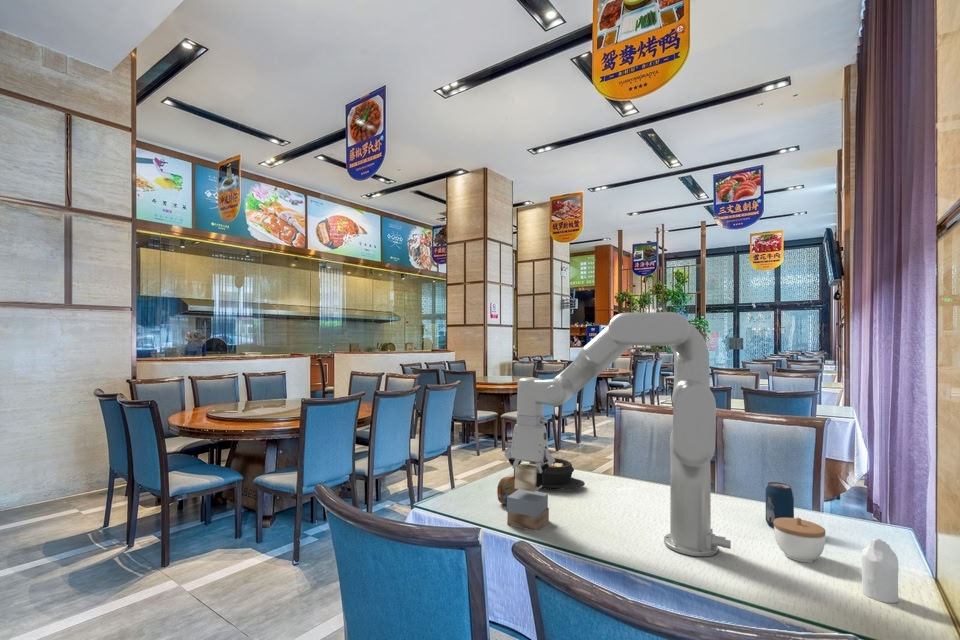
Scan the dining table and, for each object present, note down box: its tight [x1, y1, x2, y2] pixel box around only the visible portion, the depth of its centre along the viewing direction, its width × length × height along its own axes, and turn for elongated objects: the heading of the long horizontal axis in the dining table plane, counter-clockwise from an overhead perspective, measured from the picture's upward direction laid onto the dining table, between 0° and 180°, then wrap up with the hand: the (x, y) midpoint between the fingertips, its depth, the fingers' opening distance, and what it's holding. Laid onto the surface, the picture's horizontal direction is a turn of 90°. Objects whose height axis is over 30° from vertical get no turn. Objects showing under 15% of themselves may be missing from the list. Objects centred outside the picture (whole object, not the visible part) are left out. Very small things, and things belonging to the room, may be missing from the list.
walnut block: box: [506, 507, 550, 532], centre depth 138 cm, size 9×9×4 cm
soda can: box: [765, 481, 795, 530], centre depth 139 cm, size 7×7×12 cm
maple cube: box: [515, 462, 542, 492], centre depth 138 cm, size 6×6×6 cm
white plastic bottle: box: [861, 538, 899, 604], centre depth 100 cm, size 6×12×6 cm
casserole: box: [528, 457, 585, 490], centre depth 176 cm, size 25×19×8 cm
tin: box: [496, 473, 518, 506], centre depth 157 cm, size 15×3×8 cm, turn 143°
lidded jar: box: [773, 517, 826, 563], centre depth 119 cm, size 11×11×9 cm
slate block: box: [506, 489, 549, 517], centre depth 138 cm, size 9×9×4 cm
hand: (528, 483), depth 138 cm, fingers closed on maple cube, 6 cm apart
